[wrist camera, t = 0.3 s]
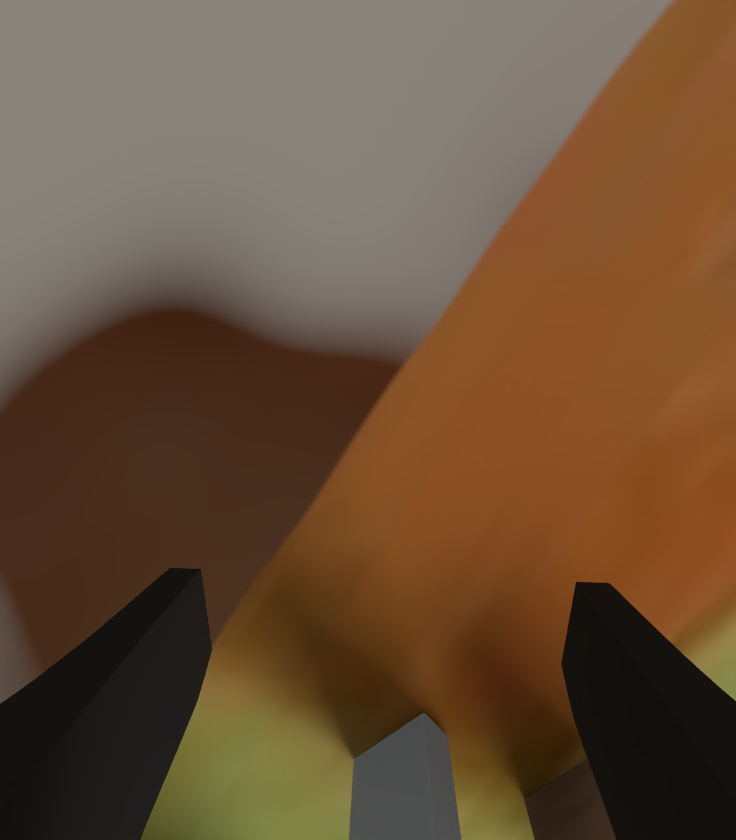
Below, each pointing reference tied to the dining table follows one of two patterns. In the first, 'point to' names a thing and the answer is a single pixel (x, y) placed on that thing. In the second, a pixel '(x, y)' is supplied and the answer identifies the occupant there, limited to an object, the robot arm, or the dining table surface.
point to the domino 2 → (569, 808)
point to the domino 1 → (405, 787)
